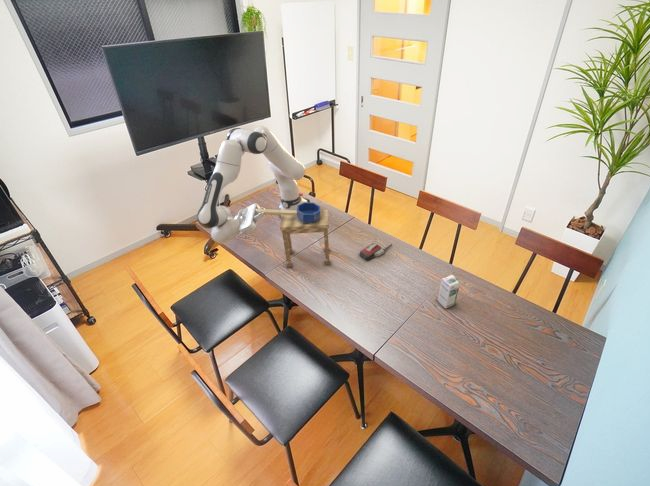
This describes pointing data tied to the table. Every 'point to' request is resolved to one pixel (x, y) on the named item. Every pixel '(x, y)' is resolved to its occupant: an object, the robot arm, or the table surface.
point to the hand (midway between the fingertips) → (263, 210)
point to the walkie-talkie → (372, 251)
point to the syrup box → (448, 291)
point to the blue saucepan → (298, 212)
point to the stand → (296, 226)
